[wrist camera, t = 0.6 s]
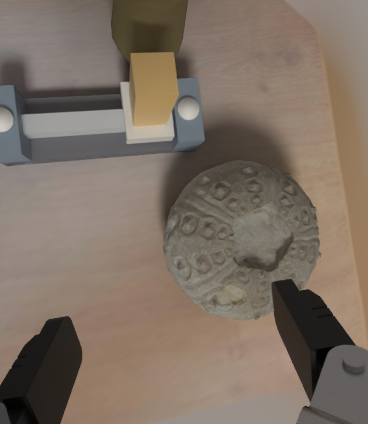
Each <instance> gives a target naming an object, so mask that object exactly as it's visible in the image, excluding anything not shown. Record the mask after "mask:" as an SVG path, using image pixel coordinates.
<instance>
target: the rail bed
mask: <svg viewBox="0 0 368 424" xmlns="http://www.w3.org/2000/svg"><path fill="white" fill-rule="evenodd" d="M177 82H178V91H179V96H178V98H177V100H176V103H175V105H174V108H173V110H172V119H173V127H174V135H175V136H174V138H173V140H172V141H162V142H148V143H135V144H126V136H125V123H124V115H123V109H122V103H121V94H110V95H89V96H67V97H46V98H24V97H23V96H22V95H21V94H20V92H19V91H18V90H17V89H16V87H15V86H14V85H0V163H2V164H4V165H6V166H12V165H24V164H36V163H48V162H60V161H72V160H84V159H96V158H108V157H120V156H132V155H144V154H156V153H168V152H180V151H192V150H196V149H197V148H198V147H199V146H200V145H201V144H202V143H203V142H204V141H205V136H204V128H203V120H202V112H201V104H200V96H199V88H198V80H197V78H179V79H177Z"/></svg>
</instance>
